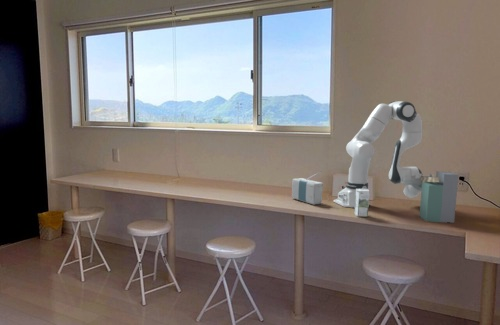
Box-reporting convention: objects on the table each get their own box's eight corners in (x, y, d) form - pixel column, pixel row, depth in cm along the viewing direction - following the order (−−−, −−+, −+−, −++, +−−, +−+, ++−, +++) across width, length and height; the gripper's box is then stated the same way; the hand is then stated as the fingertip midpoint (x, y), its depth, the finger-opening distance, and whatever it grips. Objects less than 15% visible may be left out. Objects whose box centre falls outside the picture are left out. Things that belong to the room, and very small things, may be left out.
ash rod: (420, 182, 223) (420, 177, 223) (425, 182, 223) (425, 177, 223) (434, 182, 204) (434, 176, 205) (439, 182, 204) (439, 177, 204)
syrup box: (364, 214, 219) (366, 188, 218) (368, 217, 214) (369, 190, 212) (354, 214, 219) (355, 188, 217) (357, 217, 213) (359, 190, 212)
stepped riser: (419, 216, 217) (422, 170, 214) (446, 217, 216) (450, 171, 213) (426, 221, 207) (429, 173, 204) (454, 222, 206) (458, 174, 203)
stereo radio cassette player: (291, 199, 255) (292, 167, 253) (301, 197, 260) (302, 167, 257) (313, 205, 238) (314, 172, 235) (323, 204, 242) (325, 171, 240)
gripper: (399, 178, 233) (406, 169, 220) (435, 179, 232) (444, 170, 219) (399, 188, 231) (407, 179, 218) (436, 189, 229) (446, 181, 217)
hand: (426, 175), depth 219 cm, fingers open, 4 cm apart
